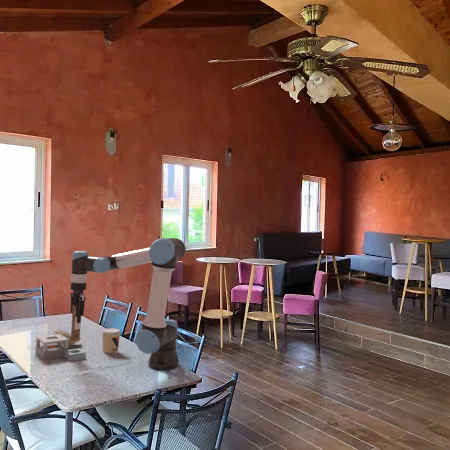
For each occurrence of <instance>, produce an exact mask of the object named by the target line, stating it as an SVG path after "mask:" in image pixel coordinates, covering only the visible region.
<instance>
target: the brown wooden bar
mask: <svg viewBox="0 0 450 450" xmlns="http://www.w3.org/2000/svg"><path fill="white" fill-rule="evenodd" d="M71 315H72V316H71V332H70V334H71V341H72V342H76V343H78V342H80V341H81V340H80V338H81V328H80V329H76V330H75V316H76V305H73V312H71Z"/></svg>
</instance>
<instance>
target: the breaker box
mask: <svg viewBox="0 0 450 450" xmlns="http://www.w3.org/2000/svg"><path fill="white" fill-rule="evenodd" d="M60 342H64V345H63V344H61V343H60ZM68 342H69V339H67V338H66V337H64V336H62V335H61V334H56V333H55V334H50V335H49V334H48V335H41V336H40V335H39V336H36V340H35V355H36V356H38V357H39V358H40V359H42V360H43V361H44V360H45V361H47V360H52V359H57V358H65V357H64V351H65V350H69V346H68ZM49 345H56V348H51V349H48V346H49Z"/></svg>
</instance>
